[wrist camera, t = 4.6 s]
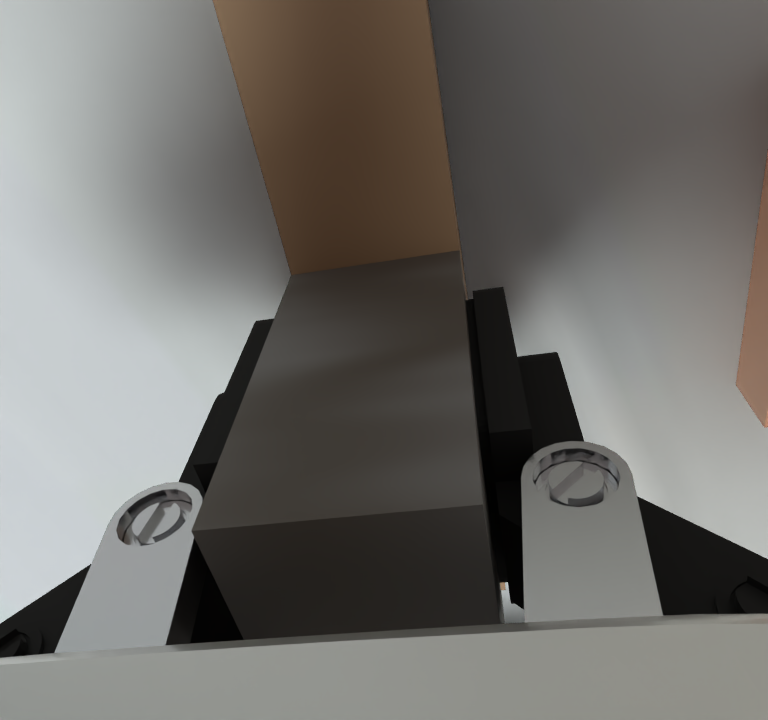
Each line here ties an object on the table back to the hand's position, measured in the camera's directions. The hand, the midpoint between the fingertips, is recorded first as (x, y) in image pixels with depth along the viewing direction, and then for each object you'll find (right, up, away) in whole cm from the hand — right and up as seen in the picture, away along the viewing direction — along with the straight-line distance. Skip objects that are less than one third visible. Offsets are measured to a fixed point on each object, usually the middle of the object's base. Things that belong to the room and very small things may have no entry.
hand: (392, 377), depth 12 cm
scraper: (0, +1, +2) cm, 3 cm away
